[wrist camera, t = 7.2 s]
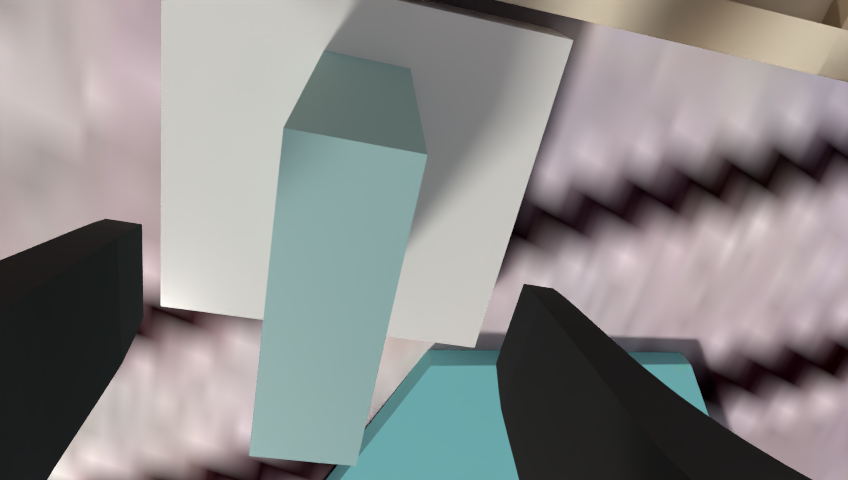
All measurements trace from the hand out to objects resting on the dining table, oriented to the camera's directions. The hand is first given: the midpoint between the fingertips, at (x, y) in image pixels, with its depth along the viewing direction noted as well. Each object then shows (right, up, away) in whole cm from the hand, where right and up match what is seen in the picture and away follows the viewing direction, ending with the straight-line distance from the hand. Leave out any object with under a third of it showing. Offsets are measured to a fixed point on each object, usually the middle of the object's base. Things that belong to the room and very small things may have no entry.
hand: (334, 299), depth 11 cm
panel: (-1, +3, +5) cm, 6 cm away
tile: (-1, +4, +7) cm, 8 cm away
